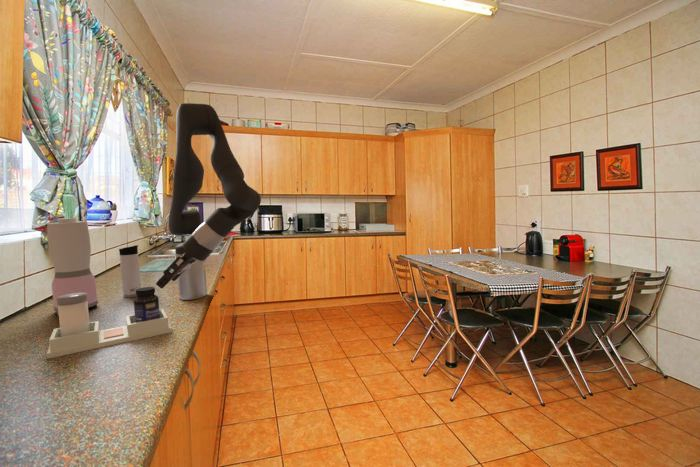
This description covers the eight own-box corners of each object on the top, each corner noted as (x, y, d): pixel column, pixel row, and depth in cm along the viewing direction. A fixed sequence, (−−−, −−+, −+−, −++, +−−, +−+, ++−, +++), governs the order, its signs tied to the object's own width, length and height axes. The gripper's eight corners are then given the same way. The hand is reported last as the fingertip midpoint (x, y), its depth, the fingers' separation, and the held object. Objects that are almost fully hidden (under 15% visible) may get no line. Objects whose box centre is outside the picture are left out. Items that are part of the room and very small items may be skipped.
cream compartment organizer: (166, 321, 109) (163, 279, 108) (172, 332, 100) (168, 286, 99) (52, 344, 94) (46, 295, 93) (47, 358, 85) (40, 304, 84)
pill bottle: (149, 330, 98) (146, 291, 97) (130, 330, 99) (127, 291, 98) (165, 323, 104) (162, 286, 103) (147, 322, 105) (144, 285, 104)
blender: (90, 312, 121) (80, 218, 118) (47, 317, 117) (35, 220, 114) (106, 300, 136) (98, 216, 132) (68, 304, 132) (58, 218, 129)
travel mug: (136, 297, 139) (131, 246, 137) (119, 297, 139) (114, 247, 137) (145, 293, 145) (141, 244, 143) (129, 293, 145) (125, 244, 143)
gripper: (201, 229, 107) (165, 268, 107) (185, 234, 93) (142, 279, 93) (221, 246, 108) (184, 285, 108) (207, 253, 94) (165, 298, 94)
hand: (165, 282), depth 101 cm, fingers open, 8 cm apart
